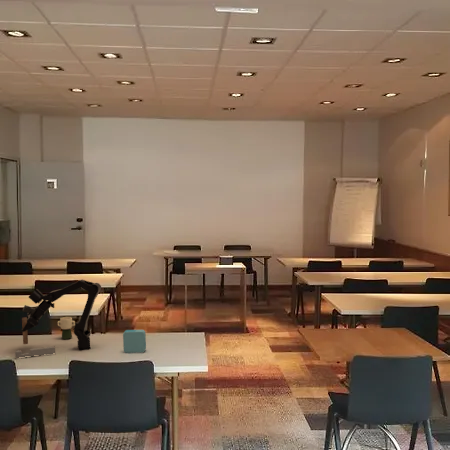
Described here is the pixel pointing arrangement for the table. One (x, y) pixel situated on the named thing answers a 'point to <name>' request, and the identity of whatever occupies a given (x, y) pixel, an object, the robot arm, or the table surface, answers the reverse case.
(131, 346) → the teal square block
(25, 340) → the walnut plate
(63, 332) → the character mug
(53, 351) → the grey crossbar
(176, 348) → the table surface
